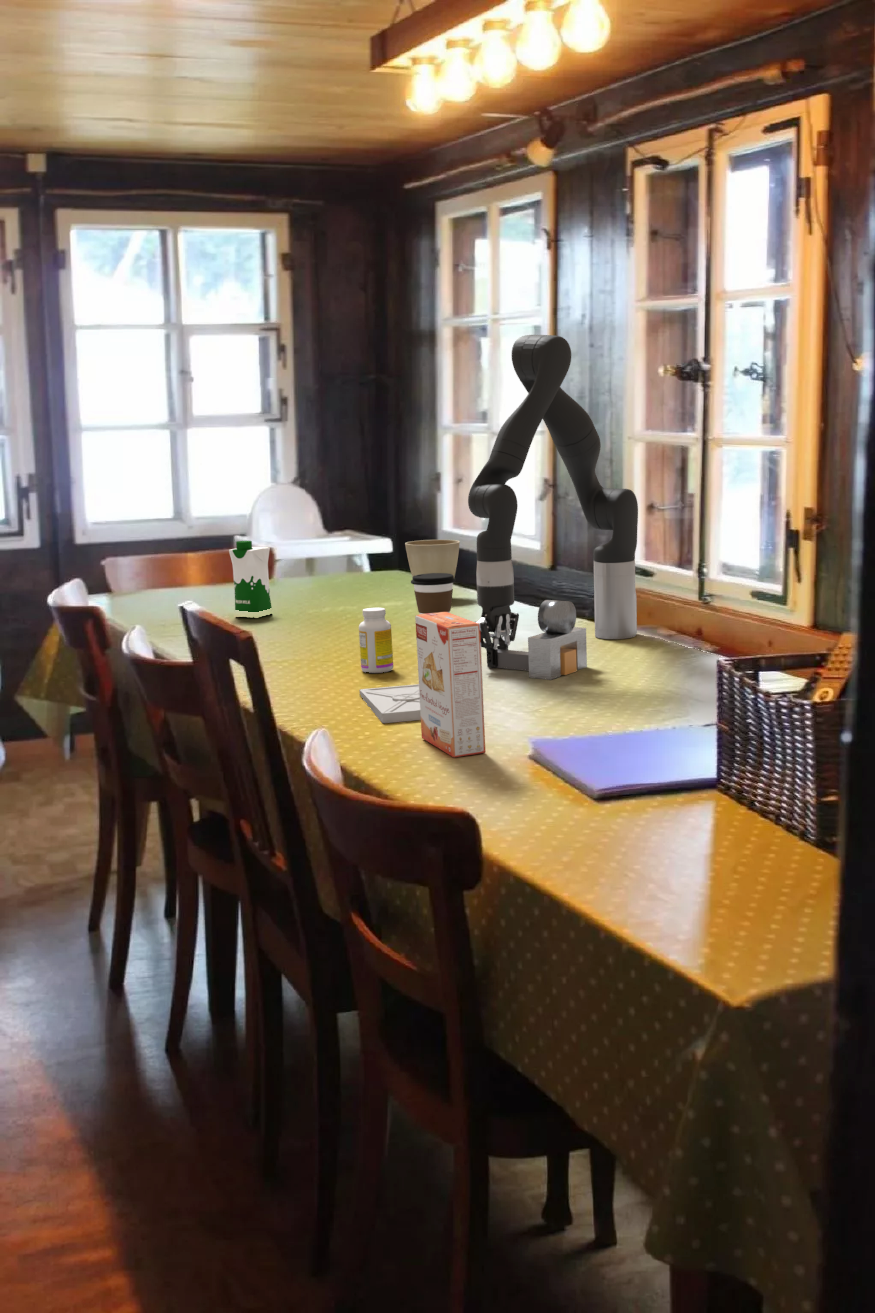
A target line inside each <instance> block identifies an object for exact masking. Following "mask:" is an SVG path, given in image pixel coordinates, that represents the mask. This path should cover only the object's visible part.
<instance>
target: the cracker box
mask: <svg viewBox="0 0 875 1313" xmlns="http://www.w3.org/2000/svg"><path fill="white" fill-rule="evenodd" d="M415 636H416V649H417V650H416V654H417V655H416V656H417V673H418V674H417V675H418V684H419V695H420V714H421V720H420V729H421V739H423V740H425V741H426V742H427V743H429V744H431V745H433V747H436V748H438V749H439V750H440V751H443V752H444V753H446V754H447V755H449V757H451V758H460V757H467V756H473V755H480V754H485V753H486V736H485V734H486V732H485V710H484V708H485V707H484V688H483V686H484V685H483V684H484V683H483V681H484V680H483V660H482V657H483V656H482V647H481V630H480V624H478V623H475V621H472V620H470V619H467V618H464V617H461V616H459V615H456V614H454V613H451V612H450V613H448V612H439V613H426V614H419V613H418V614H416V615H415Z"/></svg>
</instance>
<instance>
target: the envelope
mask: <svg viewBox="0 0 875 1313" xmlns="http://www.w3.org/2000/svg"><path fill="white" fill-rule="evenodd" d="M360 695H361V697H362V698H363V699H362V698H361V697H360V698H361V699H362V701H365V702H366V703H367V704H366V703H365V702H364V703H365V704H366V705H367V707H368V708H369V707H370V708H371V709H370V708H369V709H370V710H371V711H372V713H373V714H374V713H375V714H374V715H375V716H376V718H378V720H379V721H380V722H381V723H382V724H388V723H389V724H391V723H400V722H411V721H421V714H420V695H419V683H417V684H406V685H405V684H404V685H395V686H383V687H371V688H360V689H359V696H360Z"/></svg>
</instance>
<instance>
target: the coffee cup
mask: <svg viewBox="0 0 875 1313" xmlns="http://www.w3.org/2000/svg"><path fill="white" fill-rule="evenodd" d="M411 577H412V576H411ZM456 580H457V579H456V578H455V576H454V575H452V574H448V573H428V574H419V575H415V576H413V577H412V579H411V580H410V584H412V585H413V588H414V591H413V592H414V596H415V603H416V608H417V612H418V615H419V614H426V613H439V612H448V613H451V609H452V608H451V607H452V600H453V591H454V589H453V585H454V584H455V582H457V581H456Z"/></svg>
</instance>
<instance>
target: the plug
mask: <svg viewBox="0 0 875 1313" xmlns="http://www.w3.org/2000/svg"><path fill="white" fill-rule="evenodd" d="M560 666H561V676H567V675H569V674H572V673H576V672H577V671H578V670H577V664H576V649H565V648H560ZM486 667H487V668H489V667H488V665H486ZM496 668H497V669H505V670H517V671H528V672H529V655H528V651H526V650H525V651H523V650H514V649H513V650H512V649H508V650H503V649H498V666H497V667H495V669H496Z"/></svg>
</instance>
